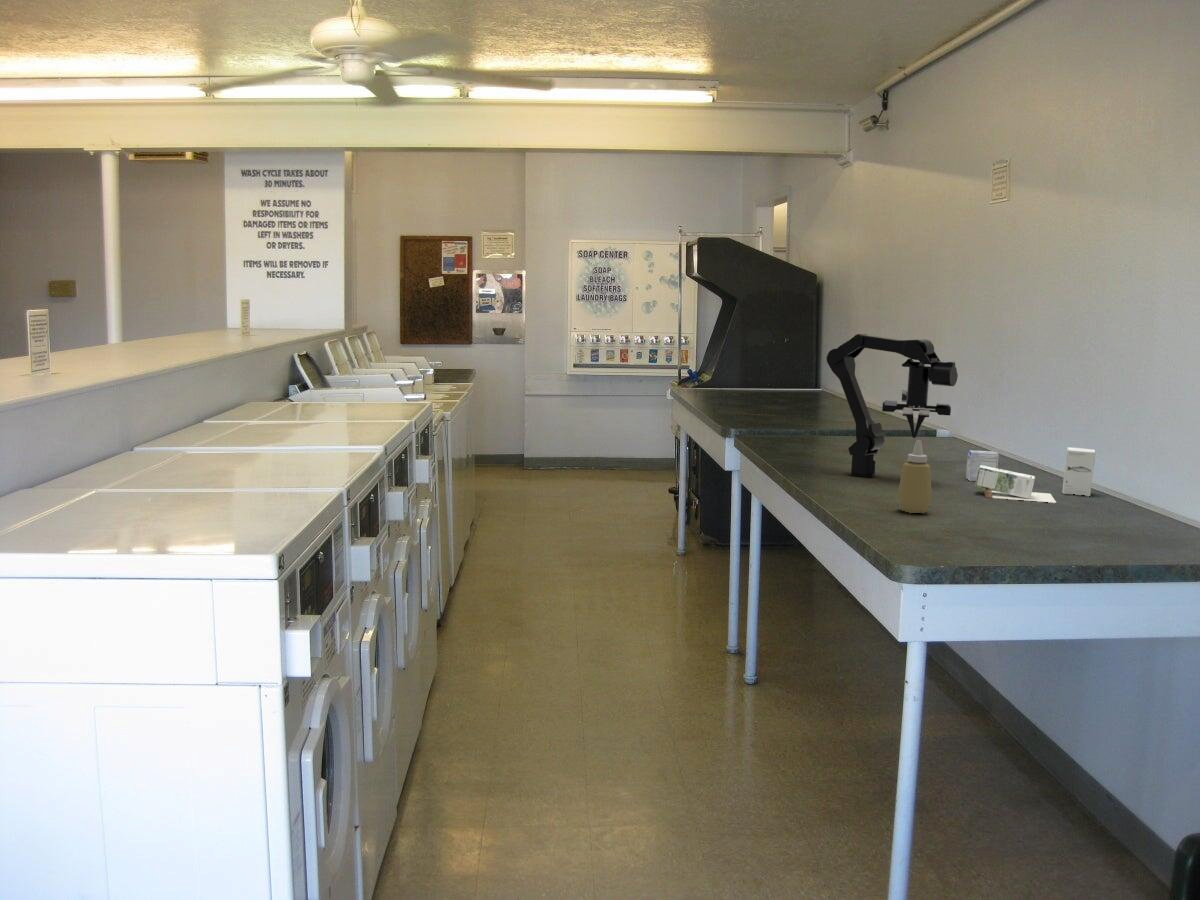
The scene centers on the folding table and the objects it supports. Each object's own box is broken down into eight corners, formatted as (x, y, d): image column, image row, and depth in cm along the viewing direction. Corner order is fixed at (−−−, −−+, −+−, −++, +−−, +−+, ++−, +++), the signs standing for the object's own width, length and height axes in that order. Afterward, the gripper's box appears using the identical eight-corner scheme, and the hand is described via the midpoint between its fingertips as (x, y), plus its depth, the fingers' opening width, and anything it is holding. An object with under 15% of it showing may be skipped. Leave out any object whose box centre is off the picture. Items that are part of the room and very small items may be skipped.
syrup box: (976, 484, 302) (1030, 496, 296) (974, 487, 296) (1030, 499, 291) (980, 464, 301) (1035, 475, 295) (978, 466, 295) (1035, 478, 290)
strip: (985, 497, 294) (985, 491, 293) (982, 489, 305) (983, 484, 305) (991, 497, 293) (992, 491, 293) (988, 490, 305) (989, 484, 304)
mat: (992, 498, 292) (992, 497, 292) (989, 489, 305) (989, 488, 305) (1056, 503, 288) (1056, 502, 288) (1050, 494, 301) (1050, 493, 301)
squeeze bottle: (930, 510, 272) (936, 439, 269) (929, 516, 264) (935, 443, 261) (897, 507, 274) (902, 437, 272) (895, 513, 267) (900, 441, 264)
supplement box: (1061, 494, 303) (1066, 449, 301) (1062, 490, 310) (1067, 446, 308) (1090, 497, 300) (1095, 451, 298) (1090, 493, 307) (1095, 448, 305)
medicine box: (992, 480, 323) (995, 451, 322) (996, 482, 318) (999, 453, 317) (965, 478, 324) (967, 450, 322) (968, 481, 319) (971, 452, 318)
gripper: (951, 383, 314) (947, 436, 316) (885, 379, 319) (881, 432, 321) (952, 386, 304) (948, 441, 306) (884, 382, 309) (880, 436, 311)
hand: (914, 437), depth 311 cm, fingers closed
